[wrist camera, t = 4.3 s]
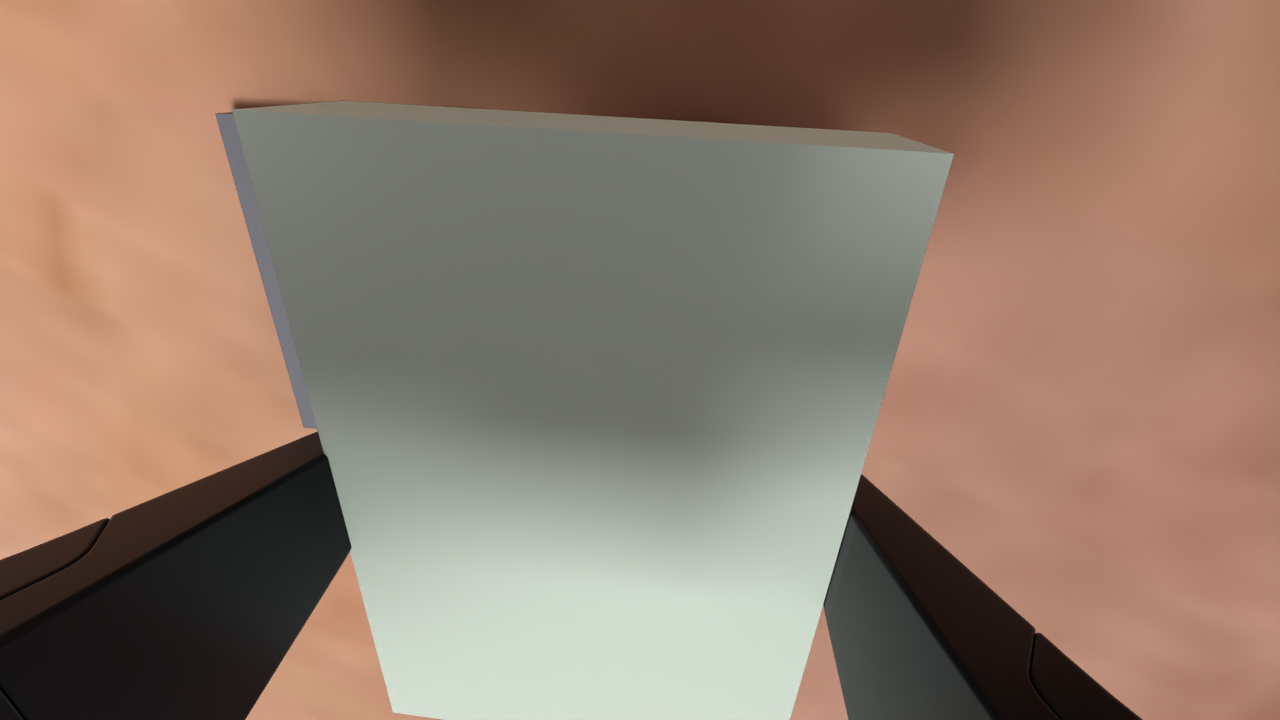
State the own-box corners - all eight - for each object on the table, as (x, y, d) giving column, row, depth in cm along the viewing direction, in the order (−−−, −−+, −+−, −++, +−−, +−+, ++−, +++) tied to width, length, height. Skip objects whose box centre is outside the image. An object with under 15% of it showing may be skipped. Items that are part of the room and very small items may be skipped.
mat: (478, 123, 17) (469, 125, 17) (505, 432, 22) (499, 444, 22) (234, 112, 18) (215, 113, 17) (315, 416, 23) (303, 427, 22)
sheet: (891, 133, 7) (954, 153, 5) (765, 664, 12) (775, 768, 10) (344, 100, 8) (230, 108, 6) (438, 620, 12) (393, 712, 11)
